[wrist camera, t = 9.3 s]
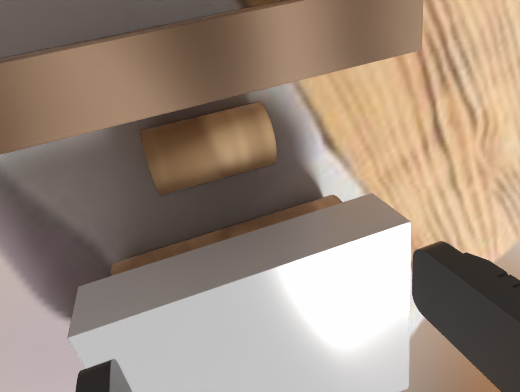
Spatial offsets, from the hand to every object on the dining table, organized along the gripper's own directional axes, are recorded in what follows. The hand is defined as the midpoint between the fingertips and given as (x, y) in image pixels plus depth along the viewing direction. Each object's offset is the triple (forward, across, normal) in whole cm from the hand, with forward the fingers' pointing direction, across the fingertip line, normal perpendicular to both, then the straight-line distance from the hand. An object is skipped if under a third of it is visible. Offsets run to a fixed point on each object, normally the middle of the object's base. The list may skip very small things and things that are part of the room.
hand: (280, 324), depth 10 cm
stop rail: (+11, 0, -6) cm, 13 cm away
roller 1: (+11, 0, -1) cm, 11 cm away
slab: (+8, 0, +7) cm, 11 cm away
